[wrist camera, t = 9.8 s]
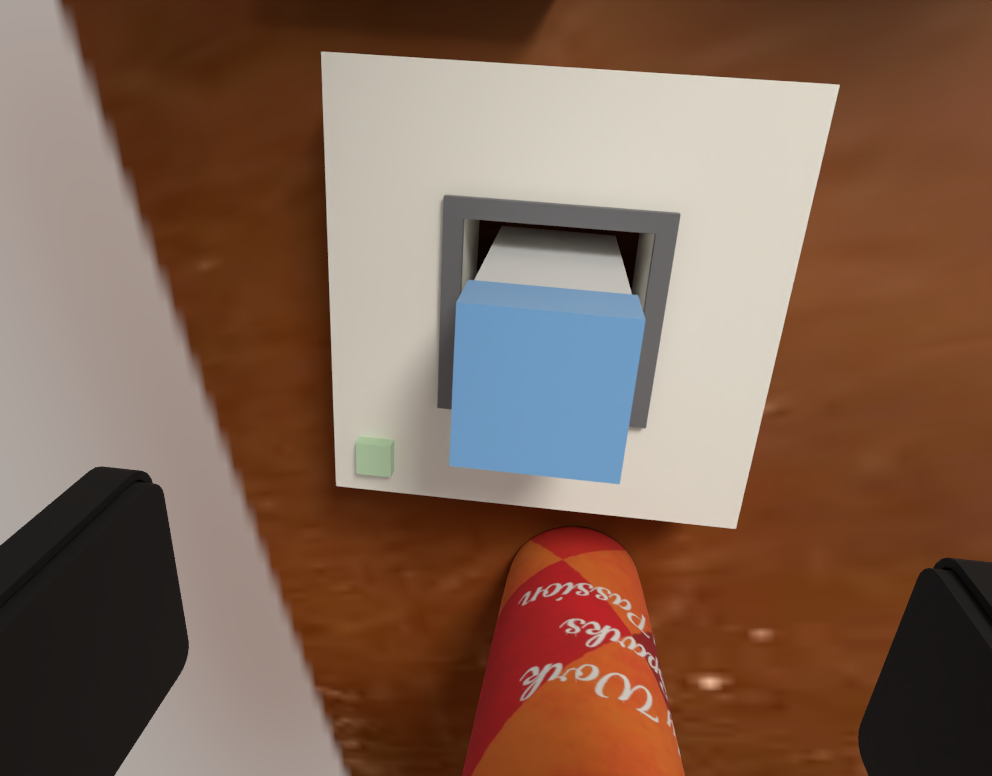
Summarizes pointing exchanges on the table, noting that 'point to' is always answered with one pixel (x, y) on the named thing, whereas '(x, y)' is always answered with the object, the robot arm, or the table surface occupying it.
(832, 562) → the table surface
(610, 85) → the port panel
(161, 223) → the table surface
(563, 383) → the plug
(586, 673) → the paper cup
